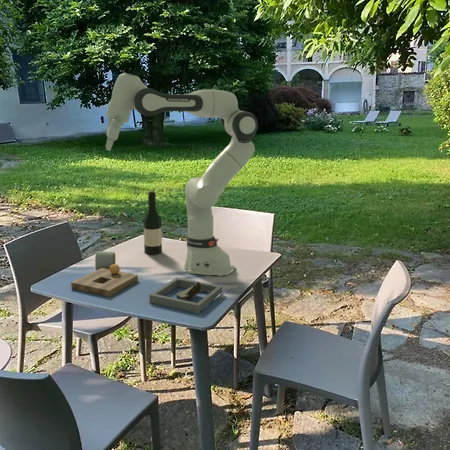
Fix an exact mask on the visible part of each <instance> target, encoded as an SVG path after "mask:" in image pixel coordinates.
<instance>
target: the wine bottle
mask: <svg viewBox="0 0 450 450" xmlns="http://www.w3.org/2000/svg"><path fill="white" fill-rule="evenodd" d="M156 197H157V196H156V192H155V190H149V191H148V193H147V199H148V200H147V202H148V203H147V204H148V211H147V213H146V214H145V216H144V218H143V234H144V235H143V241H144V243H143V244H144V246H143V247H144V249H143V250H144V254H146V255H147V256H148V255H149V256H156V255H160V254H162V253H163V248H162V247H163V245H162V244H163V238H162V236H163V235H162V218H161V215H159V213H158V211H157V205H156V204H157V202H156Z"/></svg>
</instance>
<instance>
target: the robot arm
mask: <svg viewBox="0 0 450 450" xmlns="http://www.w3.org/2000/svg"><path fill="white" fill-rule="evenodd" d="M133 110H135V111H136V112H138V113H139V114H140V115H141V116H144V117H153V116H156V115H158V114H160V113H163V112H185V113H189V114H191V115H193V116H194V117H200V118H205V119H206V118H216V119H217V118H218V119H221V120H220V121H221V124H222V127H223V128H222V129H223V130H224V132H225V133H226V134H227V135H228V136H231V139H230V141H229V144H228V145H227V146H226V147H225V148H224V149H223V150H222V151H220V153H219V154H218V155H217V156H216V157H215V158H214V159H213V161H211V162H210V164H209V166H208V168H207V169H206V171H205V172H204V174H203V175H202V176H201V177H199V176H197V177H192V178H190V179H189V180H188V181H187V182H186V183H185V189H184V191H185V203H186V214H187V236H186V247H187V251H186V252H187V253H186V258H185V262H184V267H183V268H184V269H185V270H186V271H187V273H188V274H192V275H194V274H195V275H204V276H211V275H219V276H218V277H221V276H222V275H226V274H228V273H230V272H231V271H232V270H234V268H235V269H236V265H235V264H232V263H231V258H230V255H229V254H228V253H227V252H226V251H225V250H224V249H222V248H221V247H220V246H219V245H218V241H219V238H216V237H215V236H214V215H213V210H212V208H213V207H214V206H215V205H216V204H217V202H218V199H219V197H220V196H221V194H222V193H223V191H224V190H225V189H226V186H227V185H228V184H229V183H230V181H231V180H232V179H233V178H234V177H236V176H237V174H238V173H239V172H240V171H241V170H242V169H243V168H244V167H245V166H246V164H248V162H249V161H250V159H251V158H252V156H253V154H254V153H255V150H256V149H255V144H254V142H253V140H254V139H255V136H256V132H257V131H258V128H259V127H258V125H259V124H258V119H257V117H256V116H255V115H254V114H253V113H251V112H249V111H247V110H246V111H245V110H240V108H239V102H238V99H237V96H236V95H235V94H234V93H233V92H231V91H227V90H220V89H200V90H199V89H198V90H194V91H192V92H189V93H184V94H181V93H179V94H178V93H177V94H176V93H175V94H174V93H172V94H171V93H163V92H160V91H158V90H156V89H154V88H152V87H151V88H149V87H148V86H146V84H144V83H143V81H142V80H141V78H140V77H139V76H138V75H135V74H132V73H120V74H119V75H118V77H117V78H116V80H115V82H114V85H113V89H112V92H111V98H110V100H109V102H108V105H107V109H106V111H105V112H106V113H105V116H106V117H107V127H106V137H107V139H106V143H105V150H106V151H108V152H110V151H112V147H113V145H114V142H115V141H117V140H118V138H119V136H120V135H119V134H120V131H121V128H122V127H124V126H125V123H126V124H128V123H129V120H130V117H131V114H132V111H133ZM234 271H235V270H234ZM226 276H227V275H226ZM222 277H223V276H222Z"/></svg>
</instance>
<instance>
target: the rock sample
mask: <svg viewBox="0 0 450 450" xmlns="http://www.w3.org/2000/svg"><path fill="white" fill-rule="evenodd" d="M199 282H200V281H197V283H196V284H195V285H194V286H192V287H191V288H188V289H187V288H184V290H181V291H179V292H177V293H176V294H175V296H176V297H178V298H179V299H181V300H185V301H189V300H192V298H195V297H196V296H197V295H198V294H199V293H201V292H202V291H201V287H202V286H201V284H200V283H199Z"/></svg>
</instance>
